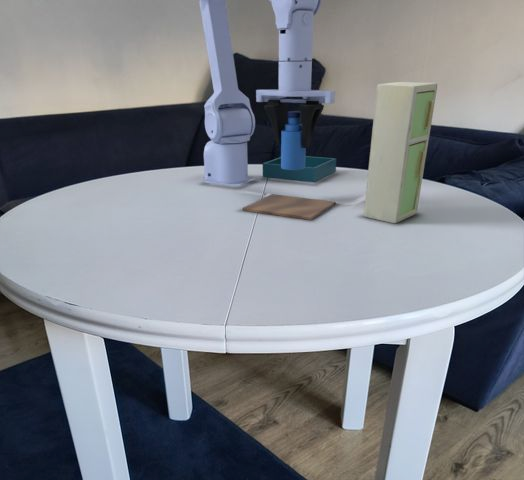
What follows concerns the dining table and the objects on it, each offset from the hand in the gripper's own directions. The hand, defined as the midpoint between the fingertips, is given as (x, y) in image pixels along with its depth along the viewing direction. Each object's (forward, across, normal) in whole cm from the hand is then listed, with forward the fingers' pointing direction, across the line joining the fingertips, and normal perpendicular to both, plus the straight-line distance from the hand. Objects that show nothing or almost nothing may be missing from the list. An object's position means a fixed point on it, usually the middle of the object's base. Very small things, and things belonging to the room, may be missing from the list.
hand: (293, 146), depth 90 cm
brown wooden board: (+10, -1, +3) cm, 11 cm away
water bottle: (+4, 0, 0) cm, 4 cm away
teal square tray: (+10, +9, -23) cm, 27 cm away
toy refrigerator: (+11, -20, 0) cm, 23 cm away
